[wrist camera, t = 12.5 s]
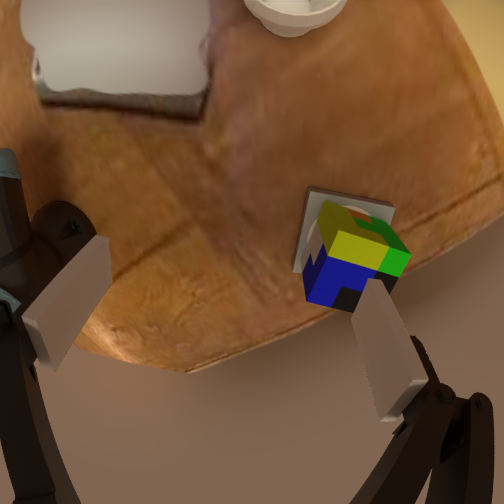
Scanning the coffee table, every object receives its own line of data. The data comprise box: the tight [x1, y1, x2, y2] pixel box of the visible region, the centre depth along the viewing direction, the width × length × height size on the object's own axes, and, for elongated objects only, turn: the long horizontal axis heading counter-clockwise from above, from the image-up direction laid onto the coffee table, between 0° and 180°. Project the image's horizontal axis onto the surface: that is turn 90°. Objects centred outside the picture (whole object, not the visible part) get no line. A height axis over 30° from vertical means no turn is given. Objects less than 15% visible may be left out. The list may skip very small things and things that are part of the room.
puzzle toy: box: [301, 200, 411, 313], centre depth 40 cm, size 10×10×10 cm
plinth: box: [292, 187, 395, 273], centre depth 45 cm, size 13×13×2 cm
